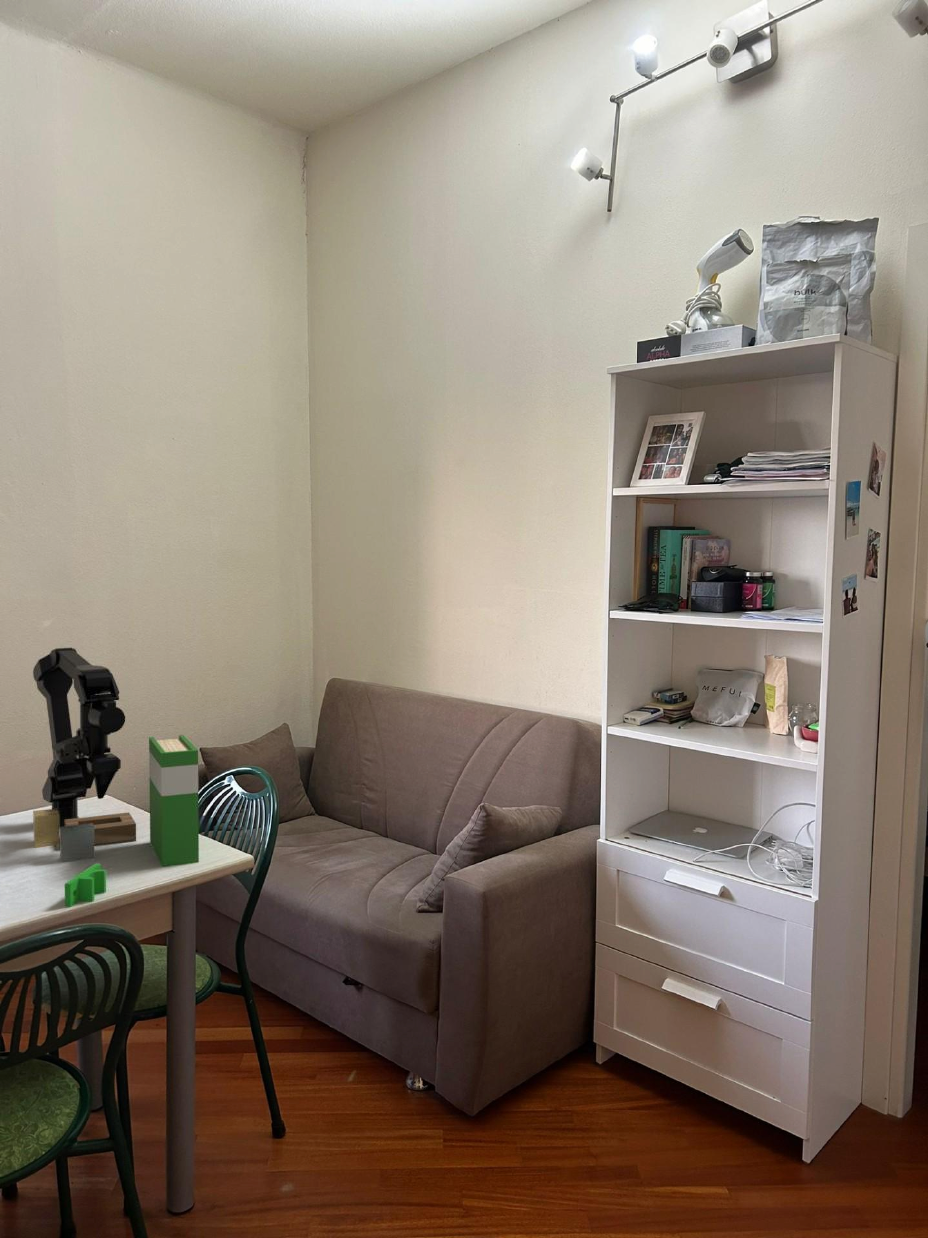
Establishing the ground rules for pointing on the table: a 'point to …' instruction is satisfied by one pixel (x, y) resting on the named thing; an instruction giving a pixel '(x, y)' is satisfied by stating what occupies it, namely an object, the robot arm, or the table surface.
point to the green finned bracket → (85, 885)
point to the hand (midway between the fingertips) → (94, 793)
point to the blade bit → (77, 842)
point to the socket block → (109, 828)
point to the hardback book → (174, 801)
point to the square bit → (46, 828)
